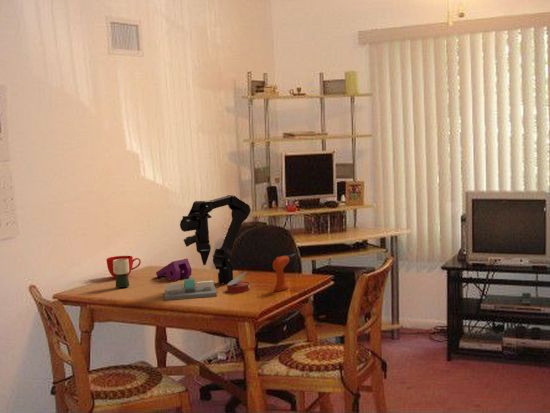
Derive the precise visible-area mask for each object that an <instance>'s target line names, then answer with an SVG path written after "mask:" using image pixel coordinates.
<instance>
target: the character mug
mask: <svg viewBox="0 0 550 413" xmlns="http://www.w3.org/2000/svg"><path fill="white" fill-rule="evenodd" d="M113 272H114V274H117V276H116V278H115V288H120V289H122V288H127V287H129V286H130V280H129V275H128V276H127V273H129V260H128V259H116V260H113Z"/></svg>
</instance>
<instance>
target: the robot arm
mask: <svg viewBox="0 0 550 413" xmlns="http://www.w3.org/2000/svg"><path fill="white" fill-rule="evenodd" d="M225 206H228V208H229V209H230V211H231V212H230V213H231V222H230V223H229V224H230V225H229V226H228V230H227V232H226V235H225V236H224V237H225V238H224V239H223V242H222V245H221V246H220V247H219V248H216V249H215V250H214V253H213V255H212V257H213V258H212V262H213V264H214V267H215V270H218V272H217V281H218V283H219V284H220V285H223V284H228V283H229V282H230V281H232V280H233V279H234V270H236V267H237V264H236V263H235V262H234V261H233V252H232V250H233V248H234V245H235V243H236V241H237V237H238V235H239V231H240V229H241V227H242V224H243V223H244V222H245V221H246V220H247V219H248V217H249V215H250V214H251V210H252V209H251V207H250V205H249V204H248V203H246V202H245V201H244V200H241V199H240V198H238V197H237V196H235V195H229V194H227V195H225V196H221V197H218V198H217V197H216V198H214V199H209V200H195V201H193V203H192V205H191V209H190V210H189V212H188V214H187V215H183V216H182V219H181V220H180V222H179V226H180V230H181V231H182V232H190V231H191V232H192V231H194V234H193V235H191V236H187V237H186V238H184V239H183V242H184V245H185V247H189V246H191V245H193V244H195V247H196V252H197V253H198V254H199V255H200V257H201V261H202V265H203V266H205V265H207V262H208V258H209V256H210V253H211V249H212V247H211V243H210V235H209V234H210V233H209V232H210V231H209V219H211V218H212V216H211V215H210V214H209V213H211V212H212V211H213V210H215V209H218V208H222V207H225Z"/></svg>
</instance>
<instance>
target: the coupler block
mask: <svg viewBox="0 0 550 413" xmlns="http://www.w3.org/2000/svg"><path fill="white" fill-rule="evenodd" d="M195 280H196V278H194V277H193V278H183V281H184V282H183V288H185V289H194V288H195V287H197V285H196V281H195ZM185 292H186V291H185Z"/></svg>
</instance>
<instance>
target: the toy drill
mask: <svg viewBox="0 0 550 413" xmlns="http://www.w3.org/2000/svg"><path fill="white" fill-rule="evenodd" d="M294 256H296V253H295V252H294V253H292V254H288V255H287V254H286V255H281V256H277V257H276V258H275V259H274V260H273V262H272V268H273V270H274V271H275V274H276V284H275V286H274V288H273V289H274V291H275V292H282V291H281V290H284V291H286V290H285V289H287V290H289V286H290V285H288V284H286V281H285V272H284V269H285V267H286V266H287V265H288V264H289V262H290V261H291V260H292V257H294Z"/></svg>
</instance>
